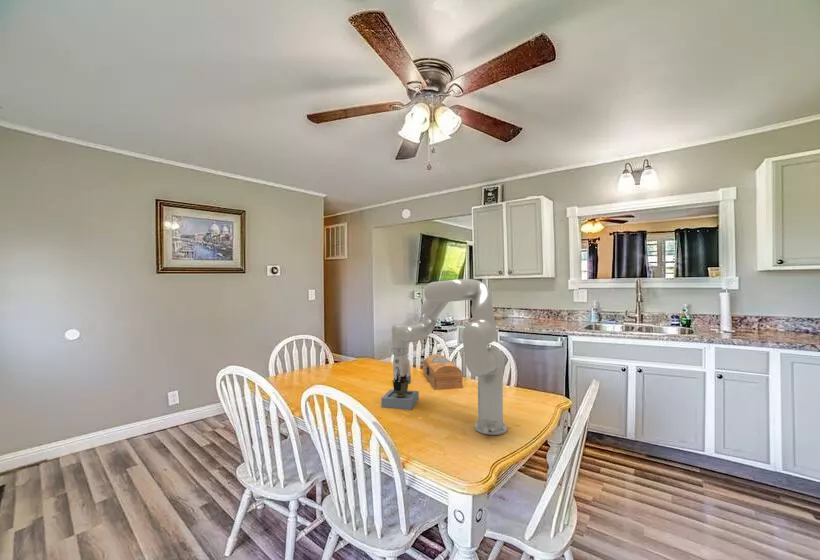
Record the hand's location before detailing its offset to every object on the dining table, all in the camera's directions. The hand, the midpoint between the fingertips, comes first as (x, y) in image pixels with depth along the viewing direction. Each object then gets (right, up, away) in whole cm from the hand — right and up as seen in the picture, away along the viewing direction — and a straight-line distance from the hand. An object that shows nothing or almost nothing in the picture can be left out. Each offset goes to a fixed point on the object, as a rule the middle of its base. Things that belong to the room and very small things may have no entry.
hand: (400, 387), depth 173 cm
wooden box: (+22, -8, +34) cm, 41 cm away
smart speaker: (0, -8, +32) cm, 33 cm away
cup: (0, -5, 0) cm, 5 cm away
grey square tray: (0, -9, 0) cm, 8 cm away
